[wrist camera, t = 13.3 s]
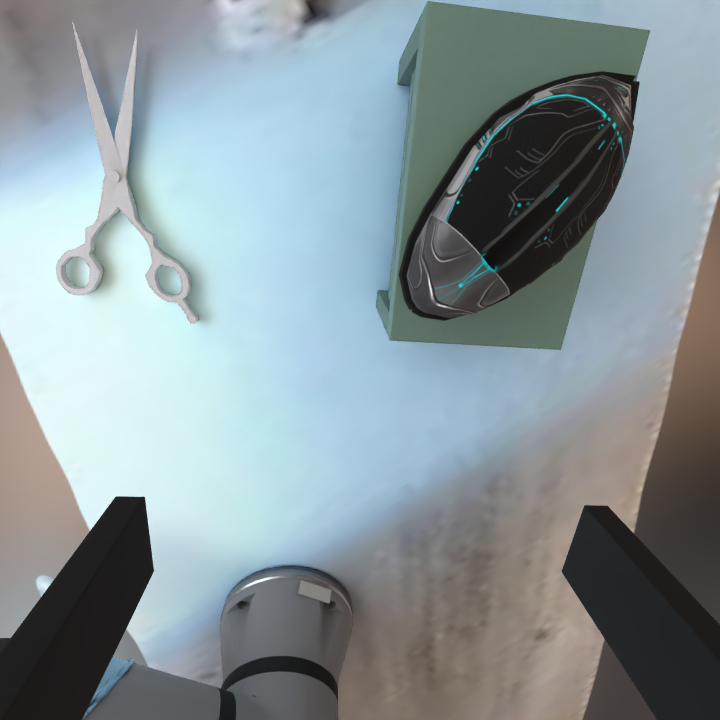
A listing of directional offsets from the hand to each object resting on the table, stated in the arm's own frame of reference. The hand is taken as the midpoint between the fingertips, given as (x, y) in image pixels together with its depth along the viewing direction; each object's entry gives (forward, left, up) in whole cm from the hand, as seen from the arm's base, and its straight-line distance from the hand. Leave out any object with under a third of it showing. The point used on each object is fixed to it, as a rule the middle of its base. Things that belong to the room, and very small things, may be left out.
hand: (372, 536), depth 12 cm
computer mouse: (+10, -8, -16) cm, 21 cm away
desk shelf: (+10, -9, -25) cm, 28 cm away
